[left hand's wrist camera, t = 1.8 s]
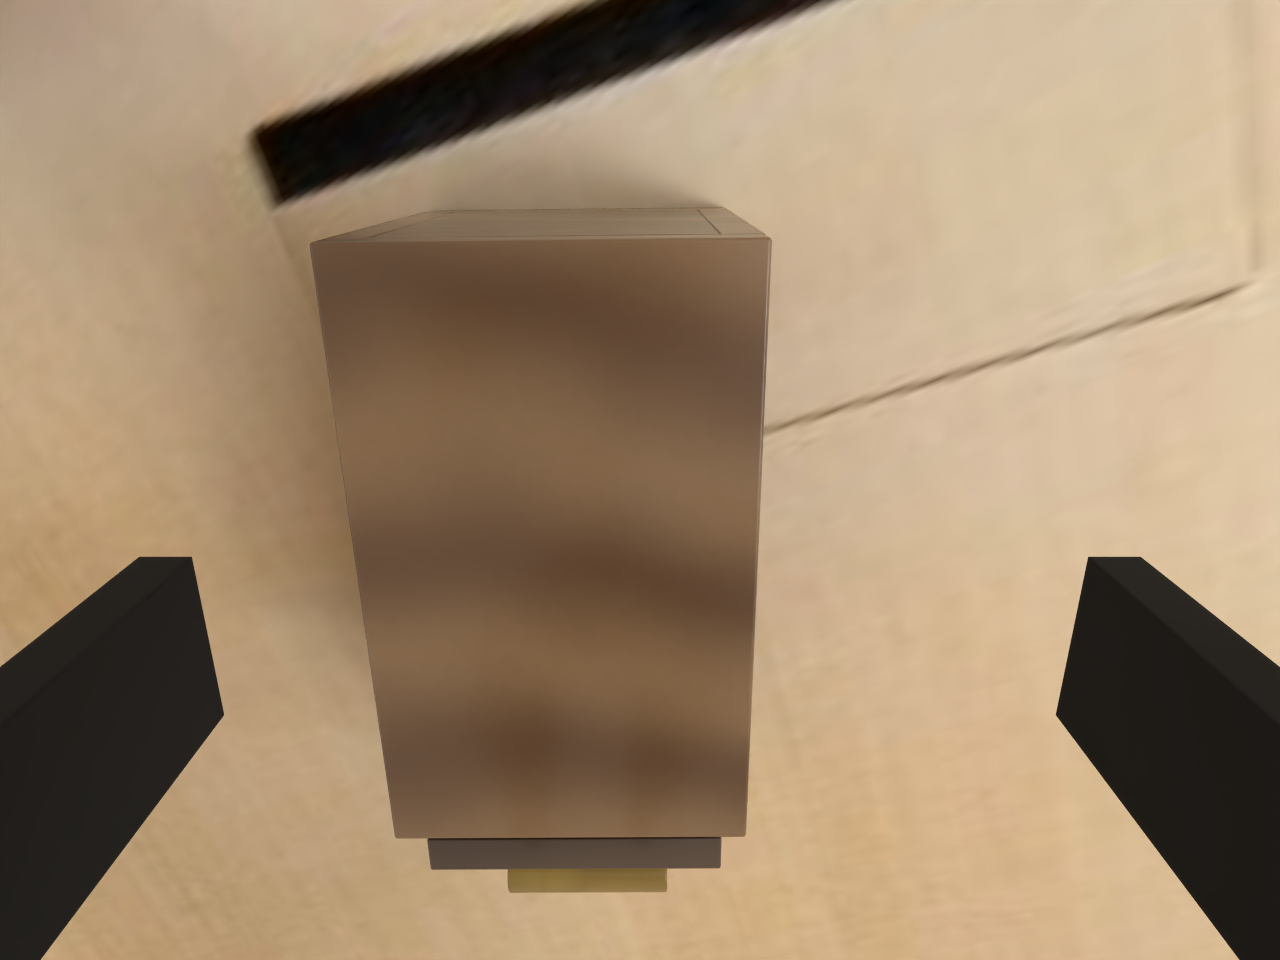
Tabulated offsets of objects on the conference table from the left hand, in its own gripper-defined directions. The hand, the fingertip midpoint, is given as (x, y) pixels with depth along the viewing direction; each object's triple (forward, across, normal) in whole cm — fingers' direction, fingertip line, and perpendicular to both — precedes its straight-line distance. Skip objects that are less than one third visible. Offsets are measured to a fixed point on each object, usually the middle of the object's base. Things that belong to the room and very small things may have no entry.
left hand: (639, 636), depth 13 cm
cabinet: (+20, -2, -3) cm, 20 cm away
